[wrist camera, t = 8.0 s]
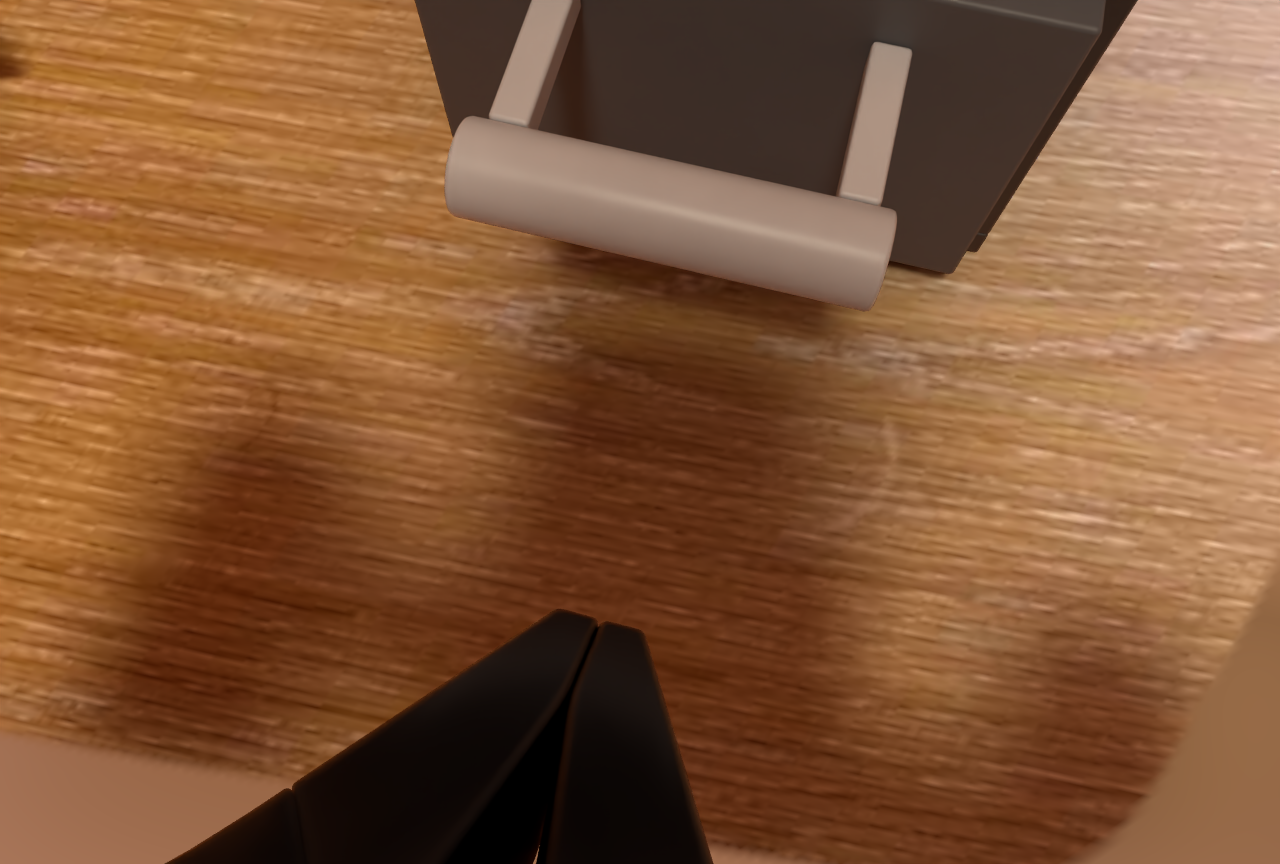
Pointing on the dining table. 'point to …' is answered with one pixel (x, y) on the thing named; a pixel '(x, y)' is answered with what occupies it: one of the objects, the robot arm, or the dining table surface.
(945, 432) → the dining table surface
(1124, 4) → the dark brown hollow box
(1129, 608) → the dining table surface
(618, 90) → the drawer
